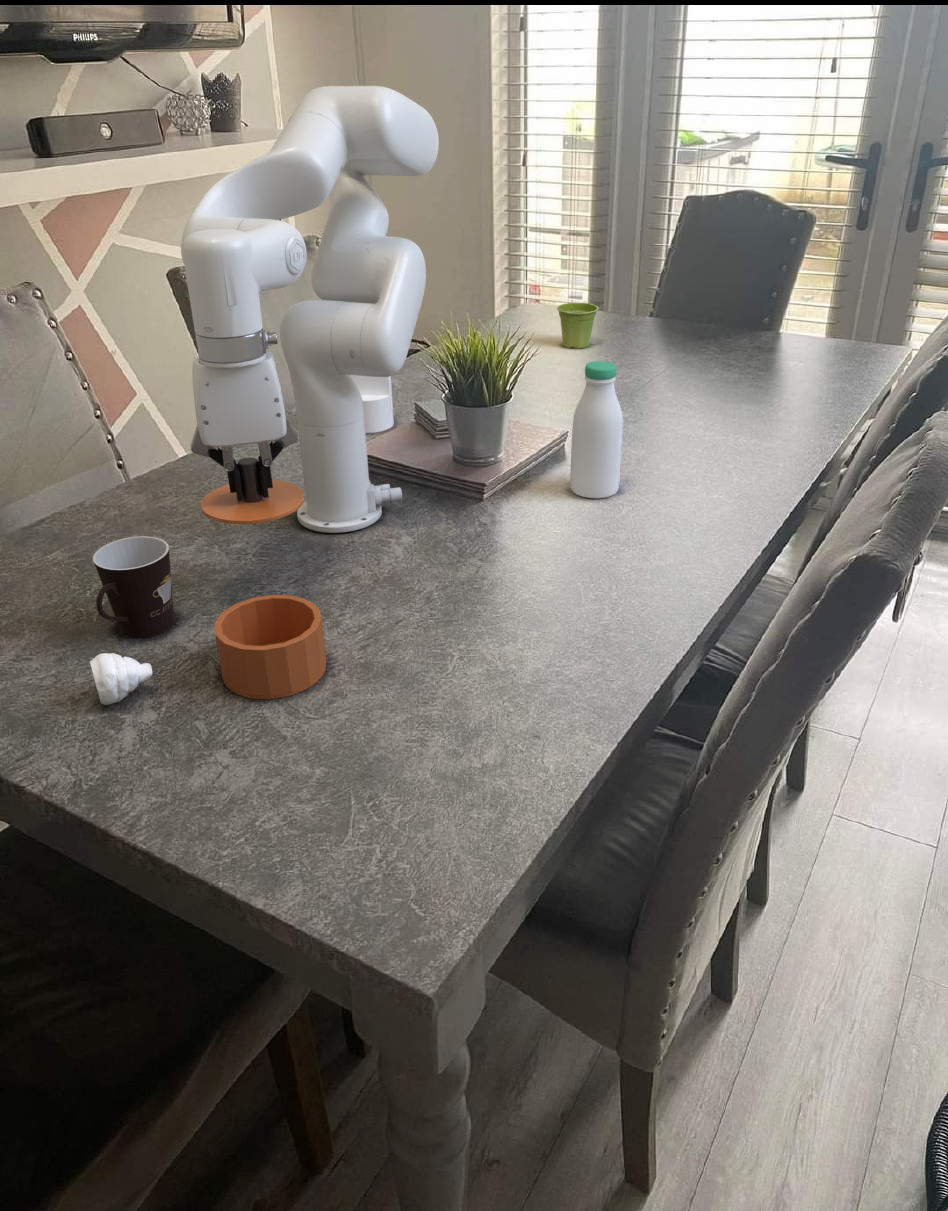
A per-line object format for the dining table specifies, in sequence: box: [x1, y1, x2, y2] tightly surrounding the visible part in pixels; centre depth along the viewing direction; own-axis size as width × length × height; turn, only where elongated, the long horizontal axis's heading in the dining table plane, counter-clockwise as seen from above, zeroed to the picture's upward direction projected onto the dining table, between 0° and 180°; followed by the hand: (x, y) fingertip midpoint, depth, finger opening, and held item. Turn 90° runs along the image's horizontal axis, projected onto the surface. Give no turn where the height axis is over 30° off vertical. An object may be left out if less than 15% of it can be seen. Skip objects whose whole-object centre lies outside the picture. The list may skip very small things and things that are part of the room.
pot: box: [213, 594, 327, 700], centre depth 108 cm, size 12×12×6 cm
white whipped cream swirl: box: [89, 652, 153, 706], centre depth 104 cm, size 6×6×5 cm
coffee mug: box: [92, 535, 175, 640], centre depth 115 cm, size 12×9×10 cm
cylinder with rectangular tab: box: [350, 375, 395, 434], centre depth 176 cm, size 9×9×12 cm
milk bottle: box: [569, 360, 624, 499], centre depth 147 cm, size 8×8×20 cm
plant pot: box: [556, 302, 599, 349], centre depth 221 cm, size 9×9×9 cm
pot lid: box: [200, 457, 306, 525], centre depth 118 cm, size 13×13×6 cm
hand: (252, 494), depth 119 cm, fingers closed on pot lid, 2 cm apart
